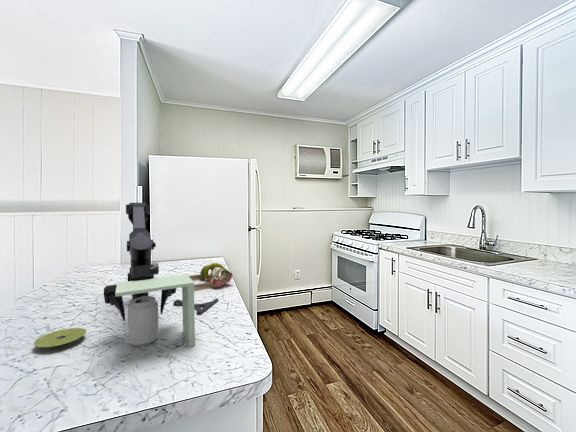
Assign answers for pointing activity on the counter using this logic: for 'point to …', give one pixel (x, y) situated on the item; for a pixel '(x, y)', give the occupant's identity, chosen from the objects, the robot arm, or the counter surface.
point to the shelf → (164, 284)
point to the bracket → (198, 305)
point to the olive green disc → (60, 337)
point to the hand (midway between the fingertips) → (143, 316)
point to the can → (143, 320)
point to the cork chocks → (202, 285)
